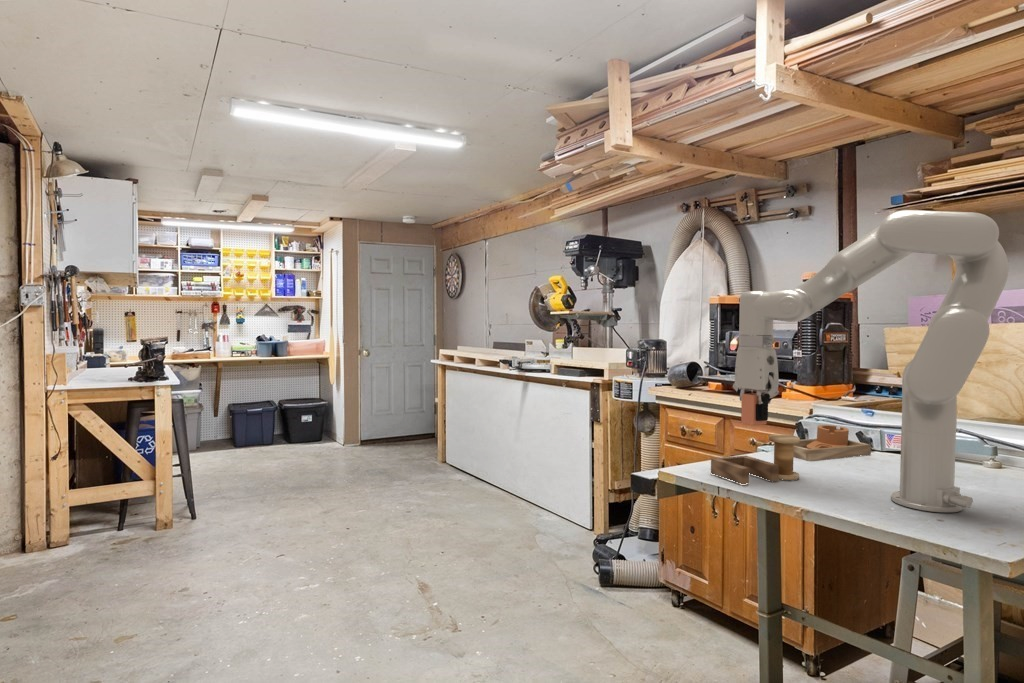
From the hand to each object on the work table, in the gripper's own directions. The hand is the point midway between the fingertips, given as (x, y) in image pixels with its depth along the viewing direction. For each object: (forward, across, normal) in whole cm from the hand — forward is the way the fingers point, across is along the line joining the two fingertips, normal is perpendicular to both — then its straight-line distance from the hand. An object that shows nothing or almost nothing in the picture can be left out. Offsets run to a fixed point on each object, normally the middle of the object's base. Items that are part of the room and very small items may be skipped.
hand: (754, 418), depth 147 cm
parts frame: (+15, +18, -42) cm, 48 cm away
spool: (+15, +1, -10) cm, 18 cm away
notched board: (+15, +3, 0) cm, 16 cm away
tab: (+1, 0, 0) cm, 1 cm away
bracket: (+16, +18, -44) cm, 50 cm away
